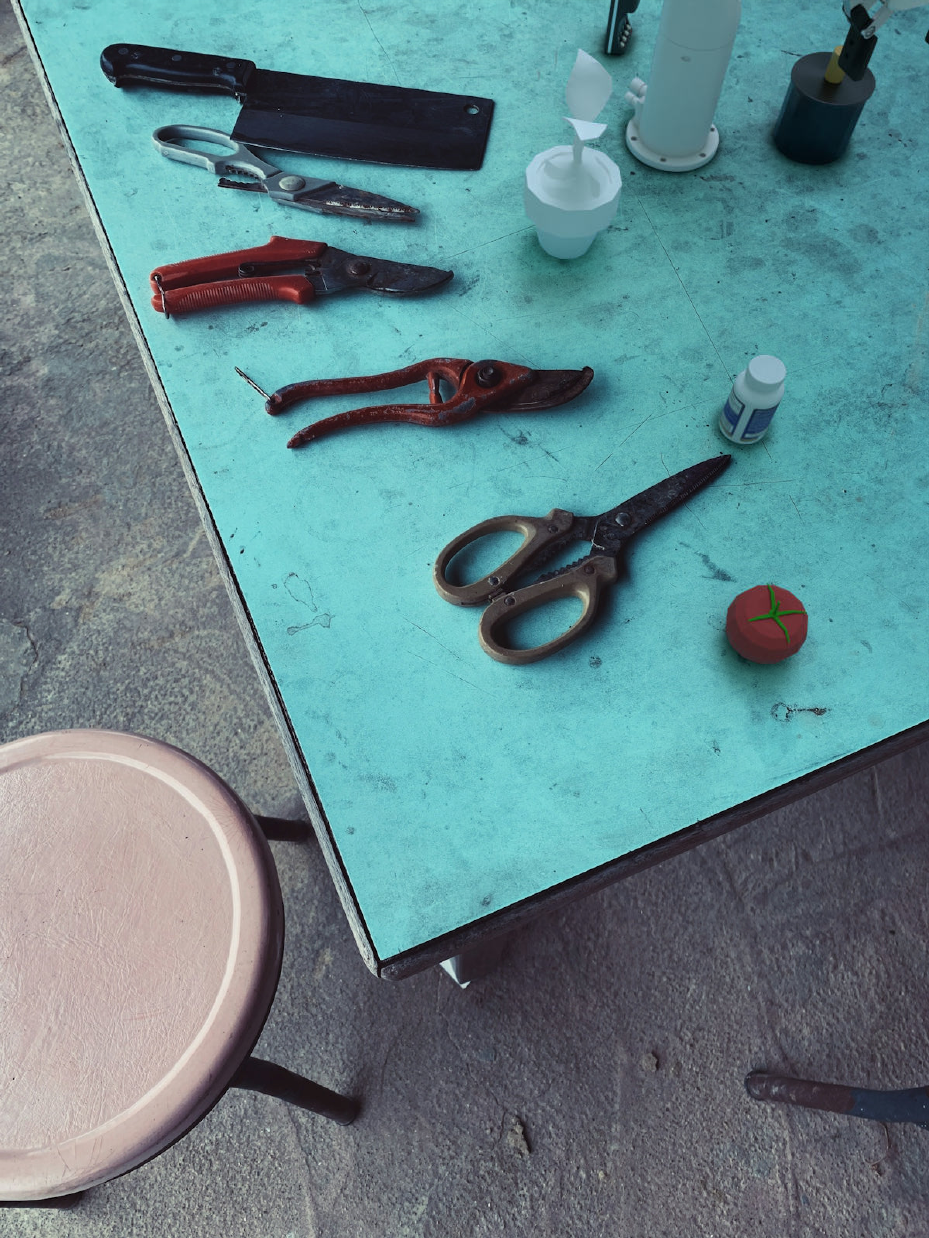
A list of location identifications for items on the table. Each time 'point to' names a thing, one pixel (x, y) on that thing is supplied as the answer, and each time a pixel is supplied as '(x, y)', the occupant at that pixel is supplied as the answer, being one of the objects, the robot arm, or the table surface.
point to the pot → (813, 129)
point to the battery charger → (619, 25)
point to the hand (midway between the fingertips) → (893, 61)
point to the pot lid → (830, 81)
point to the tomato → (766, 624)
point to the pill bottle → (753, 400)
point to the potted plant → (575, 171)
